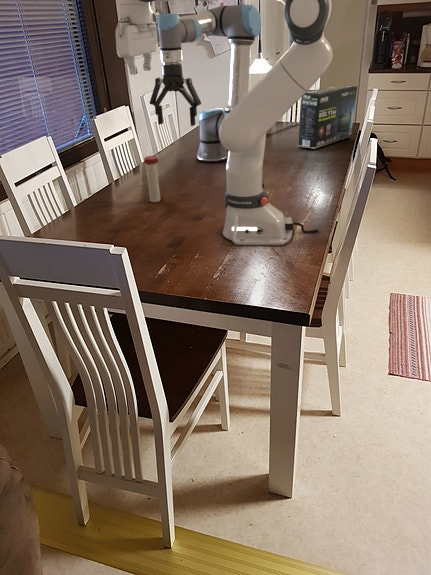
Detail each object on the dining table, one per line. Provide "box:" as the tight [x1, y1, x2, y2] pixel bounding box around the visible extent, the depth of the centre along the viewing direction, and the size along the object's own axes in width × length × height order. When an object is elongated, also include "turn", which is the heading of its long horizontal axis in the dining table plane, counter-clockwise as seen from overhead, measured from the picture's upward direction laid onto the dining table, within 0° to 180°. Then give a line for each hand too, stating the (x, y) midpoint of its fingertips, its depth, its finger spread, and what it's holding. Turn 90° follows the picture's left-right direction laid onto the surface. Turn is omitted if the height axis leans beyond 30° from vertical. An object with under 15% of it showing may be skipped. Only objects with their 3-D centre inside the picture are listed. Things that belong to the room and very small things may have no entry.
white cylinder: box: [145, 162, 162, 203], centre depth 175 cm, size 4×4×16 cm
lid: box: [143, 155, 159, 165], centre depth 171 cm, size 5×5×2 cm
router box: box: [297, 84, 358, 151], centre depth 238 cm, size 36×11×27 cm, turn 134°
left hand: (176, 124), depth 176 cm, fingers open, 13 cm apart
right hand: (140, 72), depth 133 cm, fingers open, 8 cm apart
